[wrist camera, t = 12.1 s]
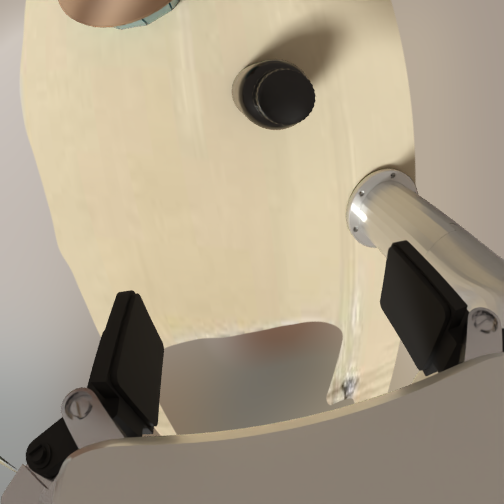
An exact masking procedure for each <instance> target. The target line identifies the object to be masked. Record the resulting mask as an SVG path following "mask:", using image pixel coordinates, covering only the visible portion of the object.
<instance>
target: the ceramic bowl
mask: <svg viewBox="0 0 504 504" xmlns="http://www.w3.org/2000/svg"><path fill="white" fill-rule="evenodd" d="M178 1H179V0H172V1H171V2H170V3H168V4H167V5H166V6H165V7H163V8H162V9H160V10H159V11H157V12H155V13H153V14H152V15H150V16H148V17H146V18H143V19H141V20H139V21H136V22H133V23H130V24H126V25H122V26H116V27H114V28H117V29H127V28H132V27H138V26H144V25H147V23H148V24H150V23H152V22H153V21H155V20H156V19H158V18H160V17H161V16H163V15H165V14H166V13H168V12H170V11H172V10H171V9H174V7H175V6H176V4H177V3H178Z"/></svg>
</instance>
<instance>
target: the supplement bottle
mask: <svg viewBox="0 0 504 504" xmlns="http://www.w3.org/2000/svg"><path fill="white" fill-rule="evenodd" d="M232 98H233V101H234V103H235V105H236V107H237V108H238V109H239V110H240V111H241V112H242V113H243V114H244V115H245V116H246V117H247V118H248V119H249V120H250V121H252V122H253V123H254V124H256V125H258V126H260V127H262V128H266V129H271V130H281V129H286V128H289V127H292V126H294V125H296V124H297V123H299V122H301V121H302V120H304V119H305V118H306V117H307V116H309V113H310V112H311V111H312V108H313V107H314V103H315V93H314V89H313V85H312V84H311V83H310V80H309V79H308V77H307V76H306V74H305V73H304V72H303V71H302V70H301V69H300V68H299V67H297V66H296V65H294V64H292V63H290V62H288V61H284V60H277V59H274V60H266V61H262V62H259V63H256V64H253V65H250V66H248V67H246V68H244V69H243V70H242V71H241V72H240V73H239V74H238V75H237V76H236V78H235V80H234V82H233V85H232Z"/></svg>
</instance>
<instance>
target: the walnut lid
mask: <svg viewBox="0 0 504 504" xmlns="http://www.w3.org/2000/svg"><path fill="white" fill-rule="evenodd" d="M58 1H59V4H60V6H61V8H62V9H63V11H64V12H65V13H66V14H67V15H68V16H69V17H71V18H72V19H74V20H76V21H77V22H80V23H83V24H85V25H88V26H93V27H116V26H122V25H126V24H130V23H133V22H136V21H139V20H141V19H143V18H146V17H148V16H150V15H152V14H153V13H155V12H157V11H159V10H160V9H162V8H163V7H165V6H166V5H167V4H168V3H170V2H171V1H172V0H58Z"/></svg>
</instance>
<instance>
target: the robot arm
mask: <svg viewBox="0 0 504 504" xmlns="http://www.w3.org/2000/svg"><path fill="white" fill-rule="evenodd" d="M346 221H347V225H348V228H349V230H350V233H351V234H352V235H353V237H354V238H355V239H356V240H357V241H358V242H359V243H361V244H362V245H364V246H367V247H371V248H378V249H379V250H380V252H381V253H382V254H383V255H384V256H385V257H386V258H387V261H386V268H385V275H384V281H383V287H382V293H381V299H380V304H381V308H382V310H383V311H384V313H385V315H386V316H387V318H388V319H389V321H390V323H391V324H392V326H393V327H394V329H395V331H396V332H397V334H398V336H399V337H400V339H401V340H402V342H403V344H404V345H405V347H406V349H407V351H408V352H409V354H410V356H411V358H412V359H413V361H414V363H415V365H416V366H417V368H418V369H419V370H420V371H419V372H418V373H417V375H416V376H415V378H414V380H413V382H412V384H410V385H408V386H405V387H403V388H400V389H397V390H395V391H392V392H389V393H386V394H383V395H380V396H377V397H374V398H371V399H368V400H365V401H362V402H359V403H355V404H352V405H349V406H345V407H342V408H338V409H335V410H331V411H327V412H323V413H319V414H315V415H311V416H307V417H302V418H298V419H293V420H288V421H284V422H278V423H273V424H267V425H262V426H255V427H249V428H242V429H236V430H228V431H219V432H209V433H199V434H186V435H171V436H149V437H148V436H147V437H142V434H153V429H154V426H157V424H158V412H159V398H160V385H161V375H162V364H163V355H164V354H163V353H164V346H163V343H162V341H161V339H160V337H159V335H158V333H157V330H156V328H155V326H154V324H153V322H152V320H151V318H150V316H149V314H148V312H147V310H146V307H145V305H144V303H143V301H142V299H141V296H140V295H139V294H138V293H137V294H135V292H134V291H132V290H131V291H125V292H119V293H118V294H117V296H116V299H115V301H114V304H113V307H112V310H111V313H110V316H109V319H108V322H107V325H106V328H105V331H104V332H103V334H102V337H101V340H100V343H99V347H98V350H97V354H96V357H95V360H94V364H93V367H92V371H91V375H90V379H89V382H88V386H87V388H82V387H81V388H77V389H75V390H73V391H71V392H70V393H69V394H68V395H67V396H66V397H65V399H64V400H63V403H62V406H61V413H62V416H63V417H62V418H61V419H60V420H58V421H57V422H56V423H54V424H53V425H52V426H51V427H50V428H48V429H47V430H46V431H45V432H43V433H42V434H41V435H40V436H38V437H37V438H36V439H35V440H33V441H32V442H31V443H30V444H29V446H28V448H27V452H26V461H27V465H26V466H25V465H24V464H22V466H21V467H20V469H19V470H18V472H17V473H16V475H15V476H14V478H13V479H12V481H11V482H10V484H9V485H8V487H7V488H6V490H5V491H4V493H3V495H2V497H1V504H504V260H503V259H502V258H500V257H499V256H498V255H496V254H495V253H494V252H493V251H492V250H490V249H489V248H488V247H487V246H485V245H484V244H483V243H481V242H480V241H479V240H478V239H476V238H475V237H474V236H473V235H472V234H470V233H469V232H468V231H466V230H465V229H464V228H462V227H461V226H460V225H459V224H457V223H456V222H455V221H453V220H452V219H451V218H449V217H448V216H447V215H446V214H444V213H443V212H441V211H440V210H439V209H437V208H436V207H435V206H433V205H432V204H430V203H429V202H427V201H426V200H425V199H423V198H422V197H420V196H419V195H418V192H417V188H416V186H415V184H414V182H413V181H412V179H411V178H410V177H409V176H407V175H406V174H405V173H403V172H401V171H399V170H396V169H381V170H378V171H375V172H373V173H371V174H370V175H368V176H367V177H365V178H364V179H363V180H362V181H361V182H360V183H359V184H358V185H357V187H356V188H355V189H354V191H353V193H352V195H351V197H350V199H349V202H348V205H347V212H346Z"/></svg>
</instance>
